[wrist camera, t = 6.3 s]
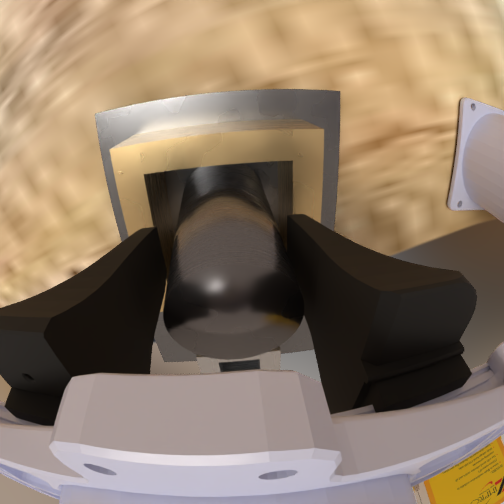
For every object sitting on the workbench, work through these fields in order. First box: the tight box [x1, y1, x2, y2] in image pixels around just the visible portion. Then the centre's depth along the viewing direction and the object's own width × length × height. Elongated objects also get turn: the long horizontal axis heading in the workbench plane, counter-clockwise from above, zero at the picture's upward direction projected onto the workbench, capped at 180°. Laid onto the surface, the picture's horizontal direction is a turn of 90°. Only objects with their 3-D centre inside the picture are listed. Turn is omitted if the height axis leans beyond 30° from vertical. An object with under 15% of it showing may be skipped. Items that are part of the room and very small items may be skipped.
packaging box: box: [413, 436, 504, 504], centre depth 32 cm, size 16×16×25 cm
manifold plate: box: [95, 89, 340, 373], centre depth 16 cm, size 12×18×4 cm, turn 3°
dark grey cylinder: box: [163, 163, 305, 360], centre depth 11 cm, size 4×4×8 cm
